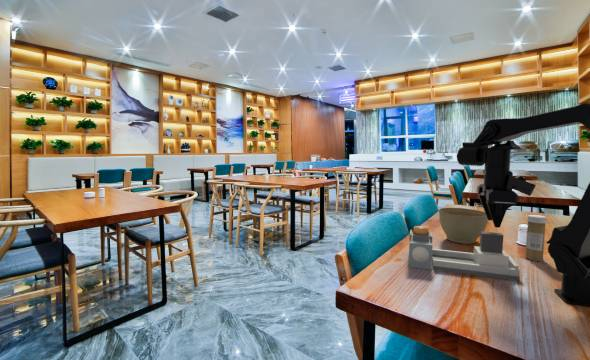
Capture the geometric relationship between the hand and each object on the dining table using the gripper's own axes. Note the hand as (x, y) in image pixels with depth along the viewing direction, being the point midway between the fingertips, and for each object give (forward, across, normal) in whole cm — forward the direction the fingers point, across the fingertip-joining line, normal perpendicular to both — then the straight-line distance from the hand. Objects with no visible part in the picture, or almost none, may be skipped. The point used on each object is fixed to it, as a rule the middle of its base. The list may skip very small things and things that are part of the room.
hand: (493, 223), depth 86 cm
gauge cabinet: (+13, -1, +18) cm, 22 cm away
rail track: (+13, 0, +5) cm, 14 cm away
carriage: (+12, 0, 0) cm, 12 cm away
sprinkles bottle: (+13, +15, -14) cm, 24 cm away
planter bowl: (+13, +29, +4) cm, 32 cm away
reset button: (+5, -1, +18) cm, 19 cm away
